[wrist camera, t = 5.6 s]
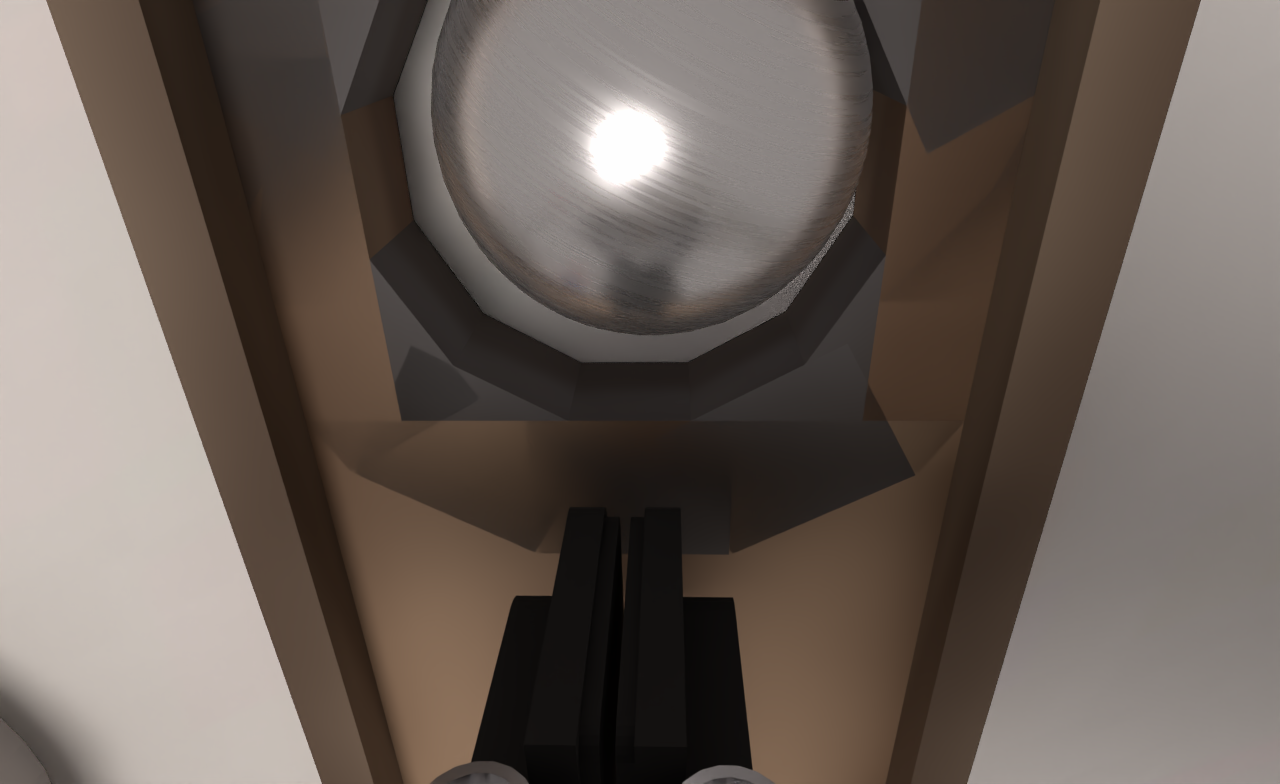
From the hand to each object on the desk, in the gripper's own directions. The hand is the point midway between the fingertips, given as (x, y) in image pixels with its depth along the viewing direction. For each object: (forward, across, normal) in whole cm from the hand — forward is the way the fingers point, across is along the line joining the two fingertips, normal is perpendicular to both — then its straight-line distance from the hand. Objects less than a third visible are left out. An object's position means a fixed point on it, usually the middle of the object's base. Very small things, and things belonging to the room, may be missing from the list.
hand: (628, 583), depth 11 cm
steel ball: (+1, 0, -7) cm, 7 cm away
